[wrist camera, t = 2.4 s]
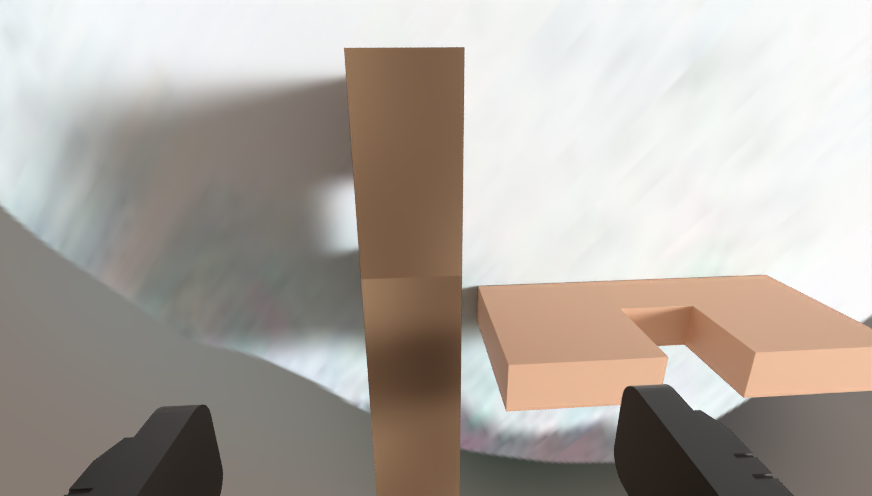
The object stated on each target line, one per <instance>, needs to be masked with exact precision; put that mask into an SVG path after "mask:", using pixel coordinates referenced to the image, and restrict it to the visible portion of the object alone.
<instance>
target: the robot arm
mask: <svg viewBox="0 0 872 496" xmlns="http://www.w3.org/2000/svg"><path fill="white" fill-rule="evenodd" d="M614 459H615V465H616V469H617V473H618V475H619V478H620V481H621V483H622V485H623V486H624V488H625V490H626V492H627V494H628V496H794V495H793V494H792V493H791V492H790V491H789V490H788V489H787V488H786V487H785V486H784V485H783V484H782V483H781V482H780V481H779V480H778V479H776V478H775V479H774V478H773V477H772V473H771V471H769V469H768V468H767V467H766V466H765V465H764V464H763V463H762V462H761V461H760V460H759V459H758V458H754V457H753V455H752V452H751V451H750V450H749V449H748V448H747V447H746V446H745V445H744V444H743V442H741V440H740V439H739V438H738V437H737V436H736V435H735V434H734V433H733V432H732V431H731V430H730V429H729V428H727V427H725V426H724V425H723V424H721V423H719V422H718V421H716V420H715V419H713V418H712V417H710V416H709V415H707V414H706V413H704V412H702V411H701V410H695V411H693V409H692V408H691V407H690V406H689V405H688V404H687V403H686V402H685V401H684V400H683V398H682V397H681V396H680V395H679V394H678V393H677V392H676V391H675V390H674V389H673V388H672V387H671V386H669V385H667V384H658V385H637V386H627V387H626V388H625V389H624V391H623V395H622V400H621V407H620V413H619V420H618V426H617V432H616V439H615V445H614ZM222 481H223V470H222V464H221V459H220V454H219V450H218V445H217V441H216V436H215V431H214V427H213V422H212V417H211V413H210V410H209V408H208V407H207V406H206V405H186V406H185V405H184V406H164V407H160V408H158V409H157V410H156V411H155V412H154V413H153V414H152V415H151V416H150V418H149V419H148V420H147V421H146V423H145V424H144V425H143V427H142V428H141V429H140V430H139V431H138V433H137V434H136V435H135V436H134V437H133V438H132V437H131V438H124V439H123V440H121V441H120V442H119V443H117V444H116V445H114V446H113V447H112V448H110V449H109V450H108V451H106V452H105V453H104V454H102V455H101V456H100V457H98V458H97V459H96V460H94V461H93V462H92V463H91V464H90V466H89V467H88V468H87V469H86V470H85V471H84V473H83V474H82V475H81V476H80V477H79V478H78V480H77V481H76V482H75V483H74V484H73V486H72V487H71V488H70V489H69V494H68V495H64V496H220V494H221V489H222Z"/></svg>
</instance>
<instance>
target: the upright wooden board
mask: <svg viewBox="0 0 872 496" xmlns="http://www.w3.org/2000/svg"><path fill="white" fill-rule="evenodd" d="M344 53H345V67H346V81H347V94H348V108H349V122H350V135H351V149H352V163H353V176H354V190H355V204H356V217H357V231H358V245H359V258H360V272H361V286H362V300H363V313H364V327H365V341H366V354H367V368H368V382H369V395H370V409H371V422H372V436H373V450H374V464H375V477H376V491H377V496H460V490H459V489H460V406H461V316H462V226H463V136H464V47H447V48H344Z"/></svg>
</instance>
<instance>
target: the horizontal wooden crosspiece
mask: <svg viewBox="0 0 872 496" xmlns="http://www.w3.org/2000/svg"><path fill="white" fill-rule="evenodd" d="M477 322H478V325H479V328H480V331H481V335H482V338H483V341H484V344H485V347H486V350H487V353H488V356H489V359H490V363H491V366H492V369H493V372H494V375H495V378H496V381H497V384H498V387H499V391H500V394H501V397H502V400H503V403H504V406H505V409H506V411H521V410H538V409H556V408H574V407H591V406H609V405H621V400H622V395H623V391H624V389H625V388H626V387H627V386H637V385H658V384H663V381H664V376H665V370H666V365H667V360H668V356H667V355H666V354H665V353H664V352H663V351H662V350H661V349H660V348H659V347H658V346H665V345H686V346H687V347H688V348H689V349H690V350H691V351H692V352H693V353H695V354H696V355H697V356H698V357H699V358H700V359H701V360H702V361H703V362H705V363H706V364H707V365H708V366H709V367H710V368H711V369H712V370H713V371H715V372H716V373H717V374H718V375H719V376H720V377H721V378H722V379H723V380H724V381H726V382H727V383H728V384H729V385H730V386H731V387H732V388H733V389H734V390H736V391H737V392H738V393H739V394H740V395H741V396H742V397H743V398H749V397H766V396H782V395H783V396H784V395H799V394H800V395H801V394H817V393H837V392H852V391H872V328H869V327H868V326H866V325H864V324H862V323H860V322H858V321H856V320H854V319H852V318H850V317H848V316H846V315H844V314H842V313H840V312H838V311H836V310H834V309H832V308H830V307H828V306H826V305H824V304H822V303H820V302H818V301H817V300H815V299H813V298H811V297H809V296H807V295H805V294H803V293H801V292H799V291H797V290H795V289H793V288H791V287H789V286H787V285H785V284H783V283H781V282H779V281H777V280H775V279H773V278H771V277H769V276H767V275H754V276H728V277H702V278H677V279H651V280H625V281H599V282H573V283H547V284H522V285H496V286H478V320H477Z"/></svg>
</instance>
